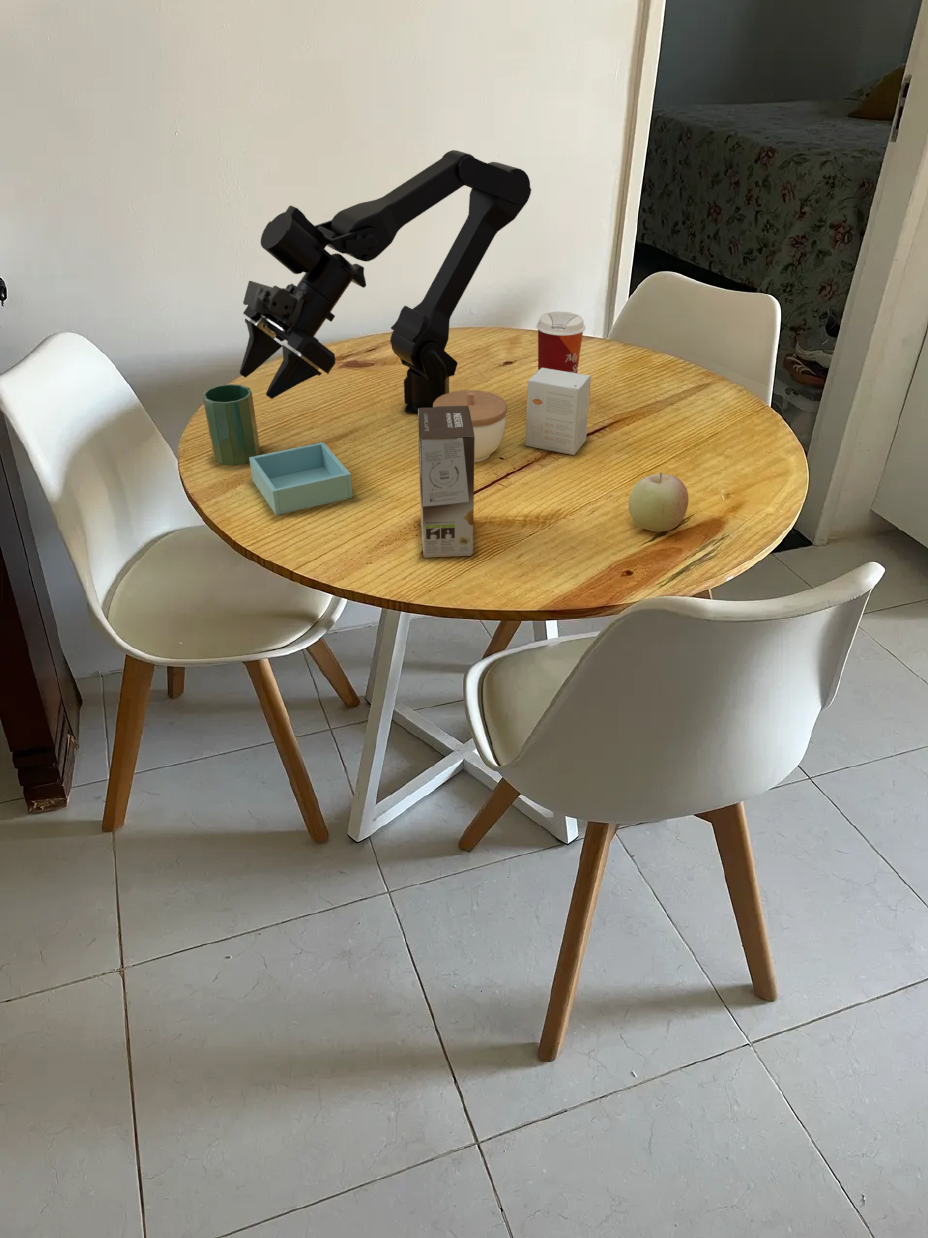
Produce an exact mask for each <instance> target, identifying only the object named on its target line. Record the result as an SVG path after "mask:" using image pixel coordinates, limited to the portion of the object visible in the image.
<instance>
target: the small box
mask: <svg viewBox="0 0 928 1238" xmlns="http://www.w3.org/2000/svg"><path fill="white" fill-rule="evenodd" d="M591 380H592V376H591V375H590V374H583V373H578V372H577V373H572V372H565V371H559V370H553V369H547V368H541V369H540V370H538V369H537V371H536V372H535V373H534V374H533V375H532V376H531V377H530V378H529V379H528V380H527V388H526V389H527V390H526V391H527V392H526V415H525V416H526V417H525V418H526V419H525V446H526V447H530V448H535V449H540V450H545V451H550V452H555V453H560V454H566V455H570V456H575V455H576V454H577V453H578V451H579V450H580V449H581V447H582V446H583V445H584V444H585V442H586V441H587V433H588V420H589V406H590V394H591Z"/></svg>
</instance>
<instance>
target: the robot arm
mask: <svg viewBox="0 0 928 1238" xmlns="http://www.w3.org/2000/svg"><path fill="white" fill-rule="evenodd" d="M464 186H466V187H468V188H470V192H469V198H468V200H469V201H468V214H467V217H466V219H465V221H464V223H463V225H462V227H461V228H460V231H459V232H458V234H457V236H456V238H455V240H454V241H453V243H452V245H451V247H450V249H449V251H448V253H447V254H446V257H445V258H444V260H443V262H442V264H441V265H440V268H439V270H438V271H437V273H436V275H435V277H434V279H433V281H432V282H431V284H430V286H429V287H428V290H427V292H426V294H425V295H424V297H423V299H422V300H421V302H420V303H418V304H417V305H416V306H414V307H413V308H411V307H409V306H408V305H404V306H403V307H402V308H401V310H400V312H399V315H398V318H397V320H396V321H395V323H394V324H393V325H392V326H391V327H390V329H391V330H392V333H391V335H390V339H389V343H390V346H391V350H392V352H393V353H394V355H395V356H397V357H398V358H399V360H400V362H401V364H402V365H403V366H405V367H407V368H408V369H407V371H406V376H405V378H404V380H403V400H404V404H405V405H406V406H405V407H404V412H405V413H412V414H418V409H419V408H433V403H434V402H435V400H436V399H437V398H438V397H440V396H442V395H444V394H447V393H450V378H451V377H453V376H455V374H456V370H457V367H458V361H457V360H456V359H455V358H453V356H451V354H449V353H448V352H447V351H445V349H446V347H447V344H448V342H449V335H450V321H451V317H452V315H453V313H454V311H455V310H456V308H457V306H458V304H459V302H460V301H461V299H462V297H463V295H464V293H465V291H466V290H467V287H468V286H469V284H470V282H471V280H472V279H473V277H474V275H475V273H476V271H477V270H478V267H479V266H480V264H481V262H482V260H483V259H484V257H485V255H486V253H487V251H488V249H489V247H490V246H491V244H492V242H493V241H494V238H495V237H496V235H497V233H499V231H501V230H502V229H504V228H505V227H506V226H508V225H509V224H510V223H511V222H513V221H514V220H515V219H516V218H517V216H518V215H519V214H520V213H521V211H522V210H523V209H524V207H525V206H526V204H527V203H528V201H529V200H530V197H531V193H532V188H531V180H530V177H529V175H528V174H527V172H526V171H525V170H523V169H521V168H518V167H515V166H512V165H509V164H505V163H501V162H498V161H490V162H485V161H482V160H480V159H478V158H476V157H475V156H474V155H472V154H470V153H467V152H463V151H460V150H455V149H452V150H449V151H447V152H445V153H444V154H443V155H442V157H441V158H439V159H438V160H437V161H435V162H434V163H432V164H431V165H428V166H427V167H426V168H424V169H423V170H422V171H420V172H418V173H417V174H415V175H414V176H412V177H411V178H409V179H408V180H406V181H405V182H403V183H401V184H400V185H399V186H397V187H396V188H394V189H393V190H391V191H389V192H388V193H386V194H385V195H383V196H382V197H379V198H377V199H373V200H369V201H364V202H359V203H357V204H354V205H351V206H349V207H346V208H344V209H342V210H340V211H338V212H337V213H336V214H335V215H334V216H333V217H332V219H330V220H328V221H325V222H322V223H319V224H316V225H314V224H313V223H312V222H311V221H310V220H309V219H308V218H307V217H306V215H305V214H304V213H303V211H301V209H300V208H298V207H295V206H293V205H289V206H287V208H286V211H284V212H282V213H279V214H278V215H277V216H275V217H274V218H273V219H272V220H270V221H268V222H267V224H266V226H265V227H264V229H263V231H262V232H261V233H262V234H261V237H260V246H261V248H262V249H263V250H264V251H266V252H267V253H268V254H269V255H271V256H272V257H273V258H274V259H276V260H277V261H278V262H279V263H280V264H282V266H284V267H285V268H286V269H287V270H288V271H290V272H291V273H292V274H294V275H299V274H302V273H304V274H303V276H302V278H301V279H300V281H298V283H297V285H295V284H293V283H290V284H287V285H286V287H285V288H284V287H280V286H277V285H274V286H269V285H267V284H263V283H259V282H256V281H253V280H249V281H248V283H247V287H246V290H245V295H244V298H243V301H242V304H243V305H244V306H246V308H245V309H244V311H243V313H242V314H243V315H245V316H246V317H247V318H249V319H250V320H248V319H247V318H244V323H245V324H246V327H247V331H248V336H249V337H248V341H247V345H246V349H245V352H244V356H243V358H242V361H241V366H240V369H239V375H240V376H242V377H243V378H247V377H249V376H250V375H251V374H252V373H254V372H255V371H256V370H257V369H259V368H260V367H261V366H262V365H263V364H264V363H266V361H268V360H269V359H270V358H271V357H272V356H274V355H275V354H276V353H277V352H278V351H279V350H280V349H282V358H283V359H282V362H281V364H280V365H279V367H278V369H277V371H276V373H275V374H274V376H273V378H272V380H271V382H270V383H269V385H268V387H267V390H266V392H265V396H266V397H268V398H269V399H272V400H273V399H275V398H277V397H278V396H281V395H282V394H283V393H285V392H287V391H289V390H291V389H292V388H294V387H296V386H298V385H299V384H301V383H304V382H306V381H307V380H310V379H311V378H314V377H316V376H318V377H321V376H322V372H324V373H325V374H327V375H329V373H330V372H331V371H332V369H333V368H334V366H335V365H336V354H335V353H334V352H333V351H332V350H331V349H329V348H328V347H326V346H325V345H323V343H321V342H320V341H319V339H318V338H316V334H317V333H318V331H319V330H320V328H321V327H322V326H323V324H324V323H325V321H326V320H327V321H329V322H330V323H332V322H333V320H334V319H335V317H336V315H335V314H334V313H332V311H333V309H334V308H335V307H336V305H337V304H338V302H339V301H340V299H341V297H343V294H344V293H345V292H346V290H347V289H348V287H349V286H350V284H351V283H353V284H354V285H357V286H358V287H361V288H366V286H367V283H366V281H367V280H366V277H365V267H364V266H363V265H360V264H358V263H351V262H350V261H349V260H347V258H345V257H344V256H343V255H344V254H345V255H348V256H350V257H352V258H354V259H356V260H358V261H362V262H365V263H366V262H367V263H368V262H371V261H373V260H375V259H376V258H378V257H379V256H380V255H381V254H382V253H383V252H384V251H385V250H386V249H387V248H388V247H389V246H390V245H392V243H393V242H394V240H395V238H396V236H397V235H398V232H399V231H400V230H401V229H402V228H403V227H404V226H405V225H407V224H409V223H410V222H412V221H413V220H414V219H416V218H418V217H419V216H421V215H422V214H424V213H426V212H427V211H428V210H429V209H431V208H433V207H434V206H435V205H437V204H438V203H440V202H442V201H443V200H445V199H446V198H448V197H449V196H451V195H452V194H454V193H455V192H457V191H458V190H460V189H461V188H463V187H464ZM326 247H328V248H330V249H331V250H334V251H336V252H338V253H332V254H331V253H330V252H329V251H328V250H326ZM342 254H343V255H342ZM275 338H276V339H277V340H278V341H277V340H276V339H275ZM284 341H287V343H286V345H287V346H289V347H290V348H292V349H293V350H292V349H290V348H289V347H287V346H286V345H285V344H281V343H282V342H284ZM280 342H281V343H280ZM319 370H321V371H322V372H321V371H319Z"/></svg>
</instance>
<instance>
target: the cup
mask: <svg viewBox="0 0 928 1238" xmlns="http://www.w3.org/2000/svg"><path fill="white" fill-rule="evenodd" d="M202 401H203V405H204V406H203V407H204V412H205V417H206V423H207V429H208V434H209V439H210V444H211V445H210V446H211V451H212V456H213V459H214V461H215V462H216V463H218V464H220V465H223V466H233V467H235V466H243V465H246V464H247V465H248V464H250V460H249V457H254V456H258V455H261V447H260V441H259V433H258V427H257V419H256V412H255V405H254V397H253V392H252V390H251V388H250V387H248V386H246V385H243V384H236V383H235V384H233V383H226V384H220V385H215V386H212V387H210V388H207V389H206V390H205V391H204V392H203V393H202Z"/></svg>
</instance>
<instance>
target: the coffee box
mask: <svg viewBox="0 0 928 1238" xmlns="http://www.w3.org/2000/svg"><path fill="white" fill-rule="evenodd" d="M417 421H418V422H417V425H418V427H417V428H418V429H417V430H418V431H417V432H418V433H417V434H418V468H419V470H418V471H419V474H418V475H419V501H420V503H419V504H420V525H421V539H422V541H421V542H422V553H423V557H424V558H446V557H447V558H448V557H449V558H450V557H470V556H473V553H474V509H475V508H474V507H475V506H474V505H475V502H474V501H475V463H474V442H475V436H474V431H473V426H472V421H471V416H470V411H469V407H468V406H438V407H434V408H419V409H418V413H417Z"/></svg>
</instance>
